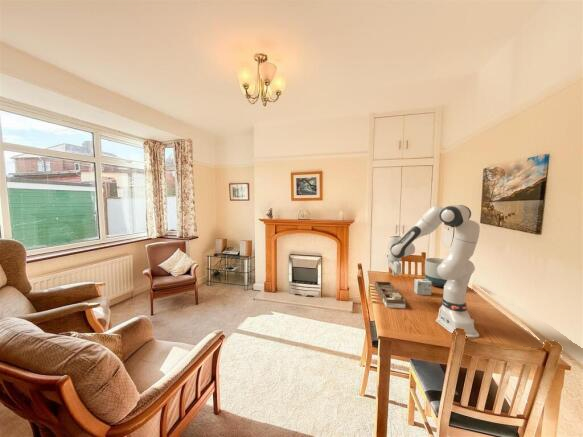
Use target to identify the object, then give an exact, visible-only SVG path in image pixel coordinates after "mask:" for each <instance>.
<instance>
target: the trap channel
mask: <svg viewBox="0 0 583 437" xmlns="http://www.w3.org/2000/svg"><path fill="white" fill-rule="evenodd" d="M374 289H375V290H376V293H377V295H378V296H379V298H380V299H381V301H382V302H383V304H384V306H385V308H392V309H406V300H405V298H404V297H403V296H402V294H401V293H400V292H399V291H398V289H397V288H396V287H395V286H394V284H393V283H392V282H391V281H378V280H377V281H376V280H375V281H374ZM392 293H397V294H400V296H401V300H393V299H392Z"/></svg>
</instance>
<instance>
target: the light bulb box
mask: <svg viewBox="0 0 583 437" xmlns="http://www.w3.org/2000/svg"><path fill="white" fill-rule="evenodd" d="M413 282H414V286H413V287H414V288H413V292H414V293H415V294H416V295H418V296H431V295H432V286H433V285H432V282H431V281H429V280H428V279H426V278H424V279H423V278H421V279H420V278H414V281H413Z"/></svg>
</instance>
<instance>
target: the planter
mask: <svg viewBox="0 0 583 437" xmlns="http://www.w3.org/2000/svg"><path fill="white" fill-rule="evenodd" d="M443 260H444V258H439V257H437V258H436V257H428V258H425V259H424V278H425V279H428V280H429V281H431V282H432V286H434V287H438V288H439V287H440V288H441V287H442V288H444V285H445V283H446V282H447V280H445V279H442V278H441V277H440V276H439V275H438V273H437V267H438V266H439V265H440V264H441V263H442V262H443Z"/></svg>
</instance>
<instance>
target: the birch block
mask: <svg viewBox="0 0 583 437" xmlns="http://www.w3.org/2000/svg"><path fill="white" fill-rule="evenodd" d="M400 294H401V293H400ZM400 294H397V293H392V299H393V300H401V296H402V295H401V296H400Z"/></svg>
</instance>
